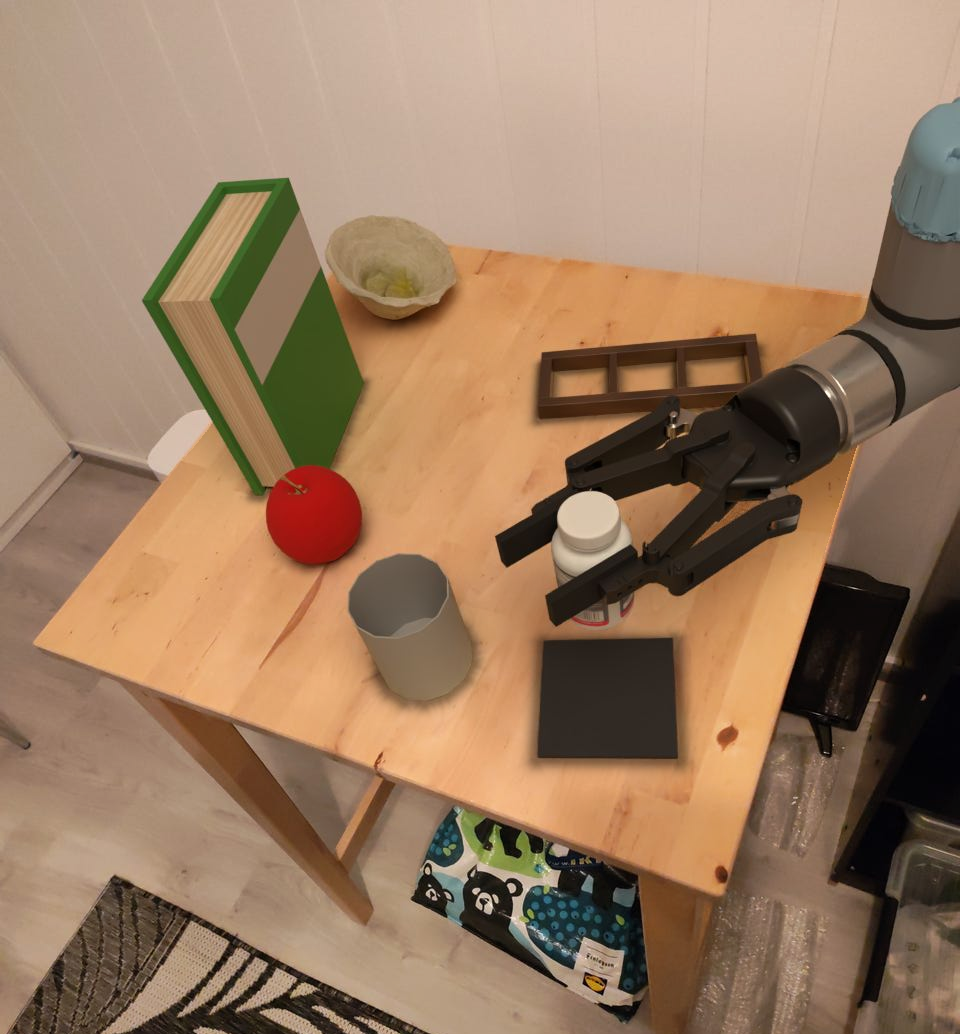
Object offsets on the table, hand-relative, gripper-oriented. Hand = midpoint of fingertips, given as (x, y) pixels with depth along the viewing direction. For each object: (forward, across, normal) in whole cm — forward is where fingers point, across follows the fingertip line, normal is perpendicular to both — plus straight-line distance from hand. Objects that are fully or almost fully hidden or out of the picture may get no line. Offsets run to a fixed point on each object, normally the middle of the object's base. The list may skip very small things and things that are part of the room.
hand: (525, 580), depth 54 cm
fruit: (+8, +29, -18) cm, 36 cm away
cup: (+6, +11, -18) cm, 22 cm away
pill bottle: (-5, 0, -7) cm, 9 cm away
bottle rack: (-30, +27, -18) cm, 44 cm away
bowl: (-16, +58, -18) cm, 63 cm away
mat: (-4, -2, -18) cm, 19 cm away
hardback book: (+3, +45, -18) cm, 49 cm away
